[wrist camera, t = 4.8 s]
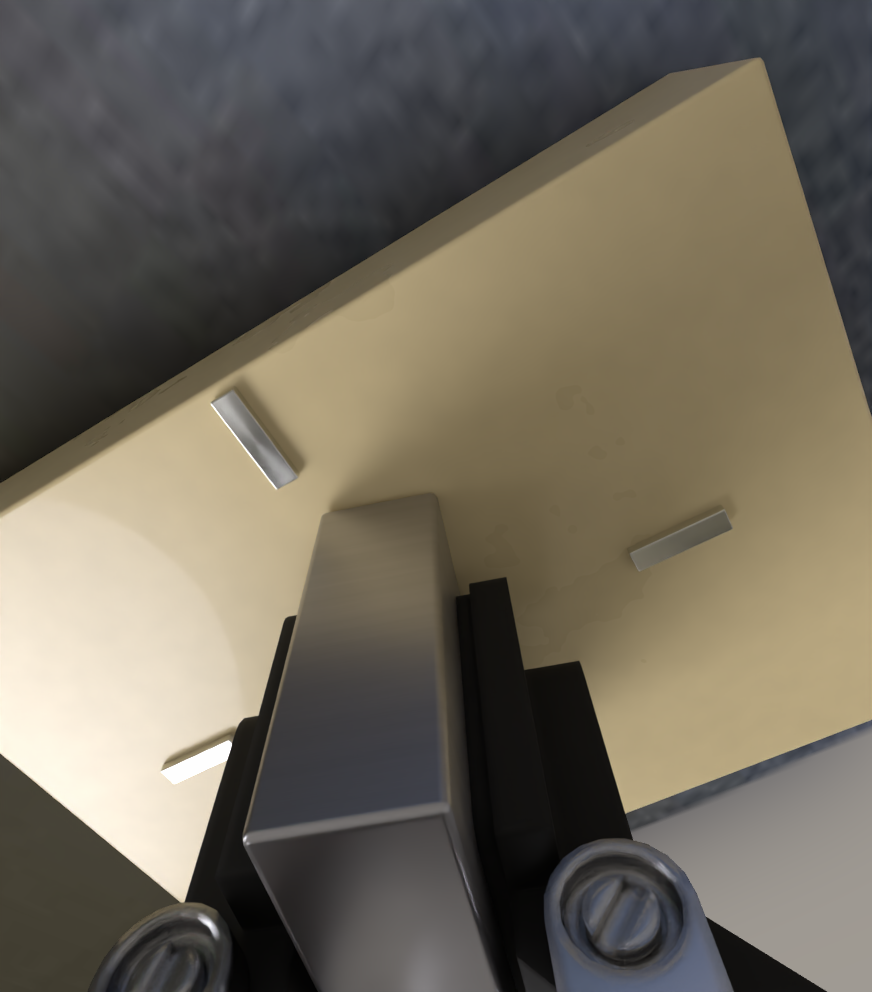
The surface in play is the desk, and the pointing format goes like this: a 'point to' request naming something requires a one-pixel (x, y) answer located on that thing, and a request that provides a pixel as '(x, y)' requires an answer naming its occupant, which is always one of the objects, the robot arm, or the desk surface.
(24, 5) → the desk surface
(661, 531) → the beige lever base
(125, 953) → the robot arm
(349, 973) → the metal bar
